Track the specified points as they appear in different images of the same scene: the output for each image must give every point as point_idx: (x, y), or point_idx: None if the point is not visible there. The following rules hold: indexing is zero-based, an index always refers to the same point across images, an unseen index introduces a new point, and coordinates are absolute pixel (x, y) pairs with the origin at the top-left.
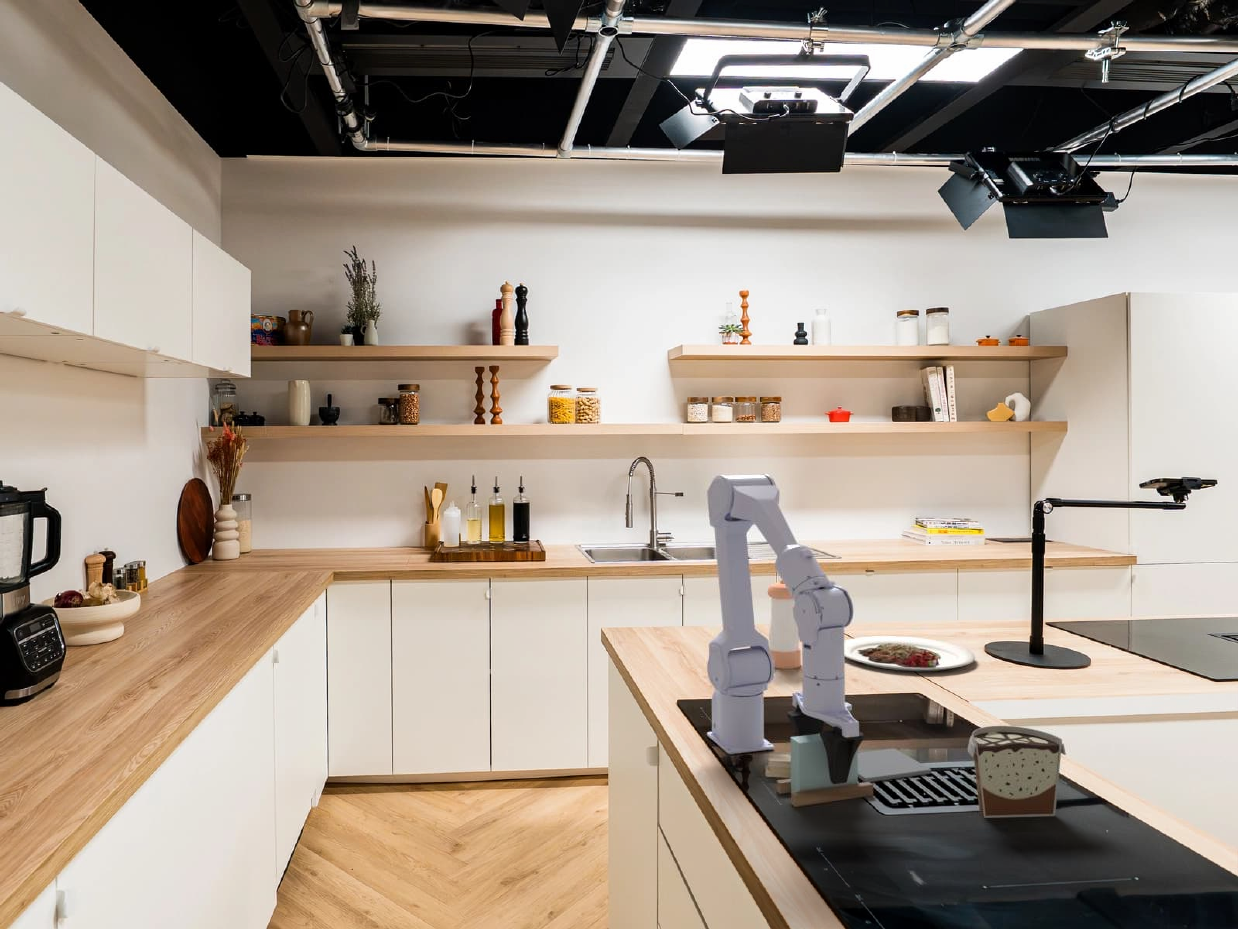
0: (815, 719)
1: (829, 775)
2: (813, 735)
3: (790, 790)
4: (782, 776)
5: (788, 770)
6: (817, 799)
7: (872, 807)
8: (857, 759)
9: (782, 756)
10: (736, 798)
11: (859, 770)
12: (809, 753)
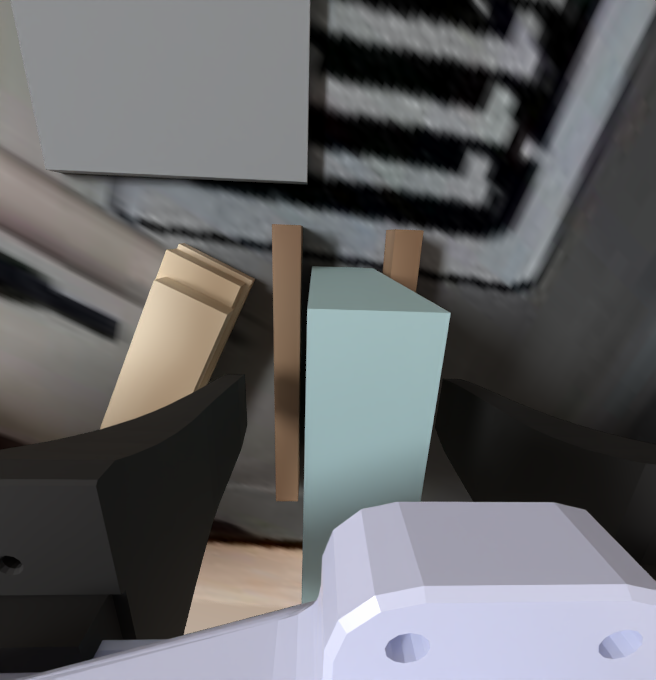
0: (154, 536)
1: (445, 450)
2: (317, 553)
3: (299, 454)
4: None
5: None
6: None
7: (478, 288)
8: (402, 285)
9: None
10: (288, 567)
11: (226, 153)
12: None
